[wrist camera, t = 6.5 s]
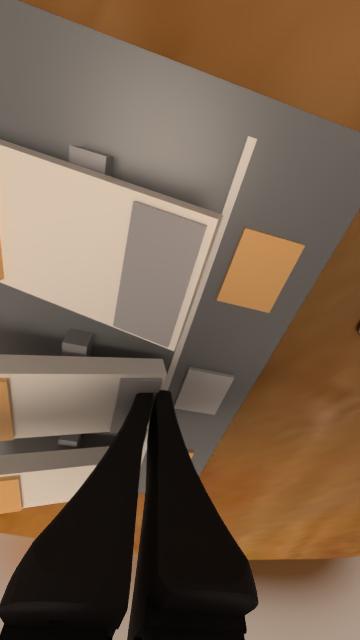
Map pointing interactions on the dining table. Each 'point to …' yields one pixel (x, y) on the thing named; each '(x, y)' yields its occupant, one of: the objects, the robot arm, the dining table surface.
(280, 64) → the dining table surface
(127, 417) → the robot arm
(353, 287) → the dining table surface
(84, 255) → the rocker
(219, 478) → the dining table surface
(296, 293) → the switch unit
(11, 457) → the rocker
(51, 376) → the rocker
